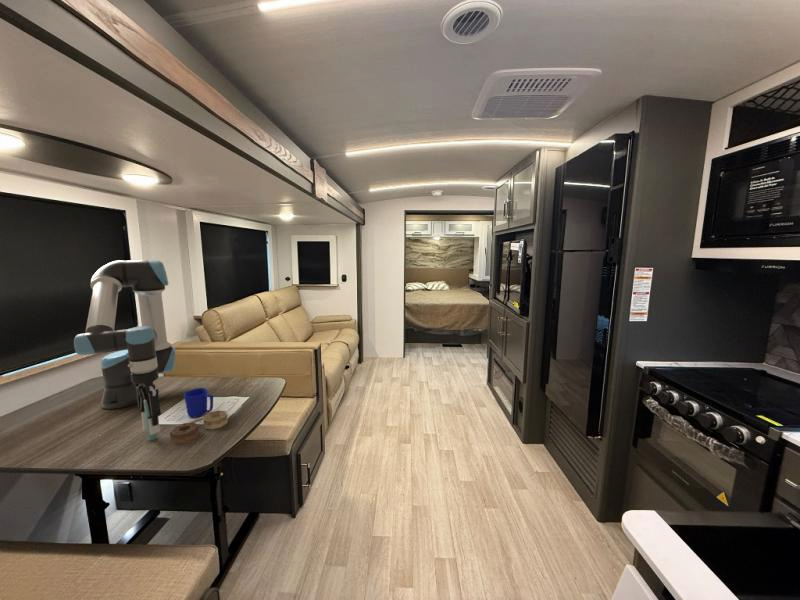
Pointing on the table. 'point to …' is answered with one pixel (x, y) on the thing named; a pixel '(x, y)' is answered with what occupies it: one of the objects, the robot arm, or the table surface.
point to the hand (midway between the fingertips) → (151, 430)
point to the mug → (197, 402)
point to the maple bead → (215, 419)
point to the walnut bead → (184, 432)
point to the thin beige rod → (195, 419)
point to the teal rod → (150, 437)
